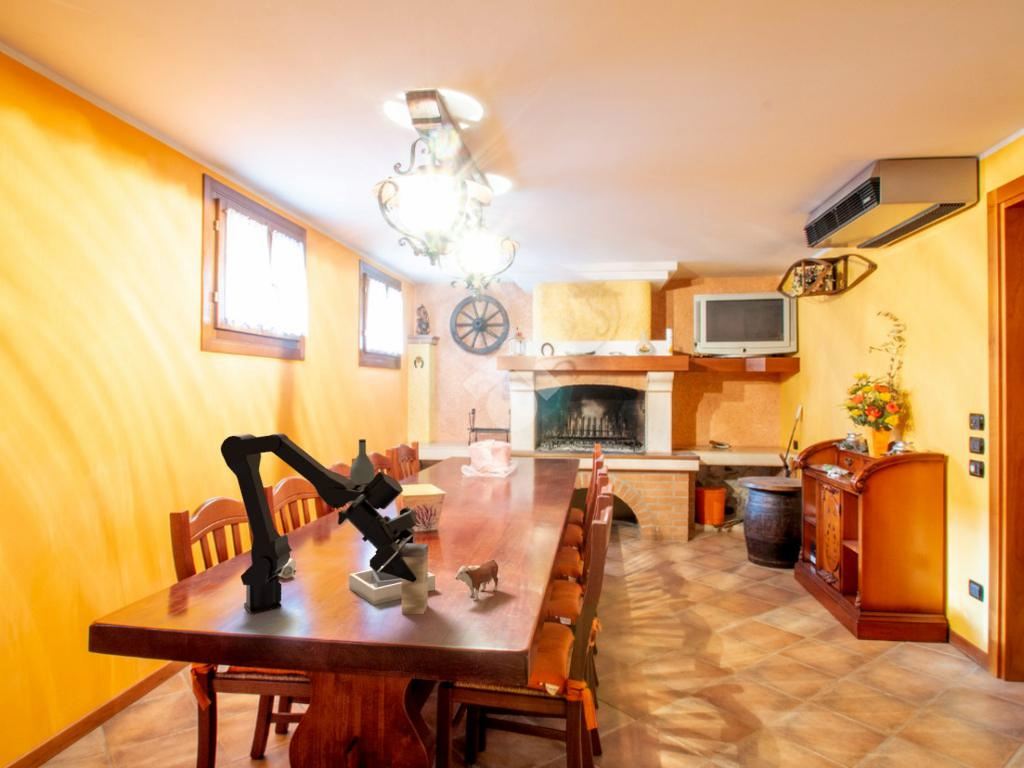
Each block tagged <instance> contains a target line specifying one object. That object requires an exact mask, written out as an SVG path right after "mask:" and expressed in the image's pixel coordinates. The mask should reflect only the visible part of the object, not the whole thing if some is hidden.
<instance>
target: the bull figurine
mask: <svg viewBox="0 0 1024 768" xmlns="http://www.w3.org/2000/svg"><path fill="white" fill-rule="evenodd" d="M498 572H499V565H498V563H497V562H496V560H494V559H491V560H489V561H487V562H483V563H481V564H479V565H469V566H468V567H466V565H462V566H461V567H460V568H459V569H458V571H457V573H456V575H454V580H456V581H459V580H460V581H461V582H463V583H464V582H465V584H466V585H467V586H468V588H469V589H470V592H471V593H470V595H469V598H473V597H474V598H473V601H474V602H478V600H479V593H480V592H484V591H485V590H487V589H486V588H487V584H488V585H489V584H490V582H492V581H493V582H494V588H493V592H497V591H498V590H499V587H498V584H499V577H498ZM481 585H482V587H481ZM474 589H475V590H474Z"/></svg>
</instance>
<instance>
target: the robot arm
mask: <svg viewBox="0 0 1024 768" xmlns="http://www.w3.org/2000/svg"><path fill="white" fill-rule="evenodd" d="M220 453H221V456H222V457H223V460H224V463H225V464H226V466H227V467H228V468H229V470H231V472H232V473H233V474H234V476H235V477H236V479H237V483H238V486H239V491H240V494H241V497H242V502H243V505H244V509H245V513H246V515H247V520H248V524H249V527H250V531H251V534H252V535H251V536H252V544H251V550H250V557H251V559H250V560H251V565H250V566H249V567H248V568H247V569H246V570H245V571H244V572H243V573H242V574H241V575H240V579H241V583H242V585H243V586H245V588H246V590H245V594H246V595H245V596H246V597H245V599H246V600H245V602H244V604H243V606H244V607H245V608H246V609H247V610H248V612H249V613H250V614H256V613H261V612H265V611H268V610H273V609H277V608H281V607H282V603H281V602H282V583H281V582H280V578H279V577H280V576H278V574H280V573H281V572H282V569H283V567H284V566H285V565H286V564H287V563H288V561H289V559H290V558H291V552H292V551H293V549H292V548H291V547H290V544H289V536H288V535H287V534H283V535H281V534H280V533H279V532H278V531H277V530H276V527H275V524H274V521H273V516H272V513H271V508H270V506H269V502H268V498H267V493H266V491H265V488H264V484H263V480H262V476H261V474H260V473H261V472H260V467H261V465H260V464H261V460H262V453H273V454H274V455H275V456H277V457H278V458H279V459H280V460H282V461H283V462H284V463H285V464H287V466H289V467H290V468H291V469H293V470H294V471H295V472H297V473H298V474H299V475H300V476H301V477H303V478H304V479H305V480H306V481H308V482H309V483H310V484H311V485H312V486H313V487H314V490H315V491H316V493H317V495H318V496H319V497H320V498H321V499H322V501H323V502H325V504H326V505H327V506H328V507H330V508H332V509H340V508H343V507H345V506H346V505H348V504H349V506H348V507H347V508H346V509H345V510H344V509H341V510H340V511H338V513H337V515H338V520H337V524H338V525H339V526H340V525H342V524H343V523H345V522H346V521H347V520H348V521H349V523H351V524H352V526H353V527H354V528H356V529H357V530H358V532H359V533H360V534H361V535H363V537H362V538H361V540H362V541H363V542H364V543H366V542H367V541H368V542H369V543H370V544H371V545H372V546H373V547H374V548H375V549H376V551H374V552H375V554H374V555H373V556H372V557H371V558H370V559H369V568H371V569H373V570H374V571H375V572H377V571H378V570H379V569H380V568H381V567H383V568H382V569H381V570H380V571H379V572H380V573H382V572H383V573H386V574H390V575H393V576H396V577H399V578H402V579H405V580H408V581H410V582H415V581H416V580H417V578H416V576H415V575H414V573H413V572H412V571H411V569H410V568H409V567H408V565H407V564H406V563H405V561H404V560H403V558H402V548H403V547H404V546H405V544H406V543H415V541H416V539H415V538H416V533H415V531H416V530H415V529H414V527H415V526H416V525H417V524H418V523H419V520H418V518H417V515H418V513H417V512H416V511H415V510H414V509H413V508H410V507H408V506H406V507H403V508H401V509H400V510H399V515H396V517H394V518H390V517H389V516H388V515H385V516H383V515H382V514H381V513H380V512H379V511H378V510H386V509H387V508H388V507H389V506H390V505H391V504H392V503H393V502H394V501H395V500H396V499H397V498H398V497H400V495H401V494H402V493H403V491H404V489H403V487H402V485H401V484H400V482H398V480H397V479H396V478H393V477H392V476H391V475H389V474H386V473H385V472H384V471H383V470H381V471H379V472H377V474H375V477H374V479H373V480H372V481H371V482H370V483H369V484H368V485H360V484H355V483H354V482H353V481H352V480H350V478H348V477H346V476H345V475H342V474H341V473H339V472H336V471H332V470H330V469H328V468H327V467H325V466H324V465H323V464H322V463H320V462H319V461H318V460H316V459H315V458H314V457H312V456H311V455H310V454H309V453H307V452H306V451H305V450H304V449H303V448H301V447H300V446H298V445H297V444H296V443H295V442H294V441H293V440H291V439H290V438H289V437H288V435H286V434H285V433H282V432H280V433H279V432H278V433H273V434H269V435H262V436H255V435H253V434H250V433H243V434H237V435H235V434H234V435H230V436H228V437H226V438H225V439H224V440H223V441H222V444H221V445H220ZM363 495H364V496H365V497H364V498H363V499H362V500H361V501H360V502H359V503H357V502H353V503H352V504H351V505H350V502H352V501H355V500H356V499H358V498H360V497H361V496H363Z"/></svg>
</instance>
